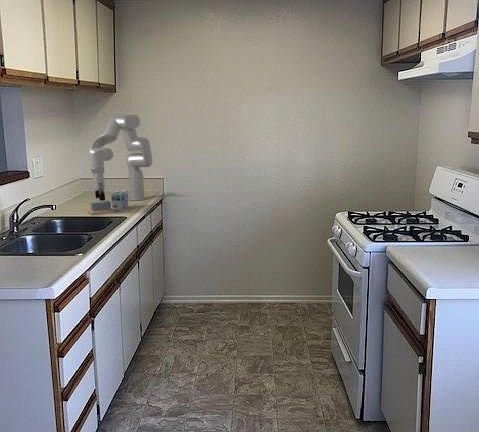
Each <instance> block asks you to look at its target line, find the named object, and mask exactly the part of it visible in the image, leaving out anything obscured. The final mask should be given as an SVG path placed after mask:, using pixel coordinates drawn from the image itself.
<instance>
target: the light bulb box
mask: <svg viewBox="0 0 479 432" xmlns="http://www.w3.org/2000/svg"><path fill="white" fill-rule="evenodd" d="M110 198H111V209H113V210H115V211H116V210H117V211H123V210H126V209H127V208H129V200H128V198H129V193H128V190H118V189H117V190H115V191H112V192H110Z"/></svg>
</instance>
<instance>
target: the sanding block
mask: <svg viewBox="0 0 479 432" xmlns="http://www.w3.org/2000/svg"><path fill="white" fill-rule="evenodd" d="M89 205H90V206H89V207H90V208H91V211H92V212H97V211H107V210H111V209H112V201H110V200H103V201H100V200H98V201H90V202H89Z"/></svg>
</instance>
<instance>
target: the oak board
mask: <svg viewBox="0 0 479 432" xmlns="http://www.w3.org/2000/svg"><path fill="white" fill-rule="evenodd" d="M82 210H83V211H84V212H86V213H87V214H88V215H90V216H95V215H96V216H97V215H98V216H99V215H105V214H106V215H107V214H115V212H116V210H113V209H112V208H111V210H107V211H97V212H92V211H91V208H90V206H84V207H83V206H82Z"/></svg>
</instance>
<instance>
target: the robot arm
mask: <svg viewBox="0 0 479 432" xmlns="http://www.w3.org/2000/svg"><path fill="white" fill-rule="evenodd" d="M140 124H141V119H140V116H139V115H137V114H119V115H112V116H111V117H109V119H108V121H107V124H106V126H105V129H104V131H103V133H102V134H101V135H98V137H96V138H95V139H94V141H93V142H92V143H91V146H90V147H89V151H88V158H89V160H90V171H91V175H92V187H93V190H94V193H95V196H94V197H95V199H99V201H106V193H105V188H106V187H105V186H106V185H105V178H104V174H105V172H106V171H105V162H109V161H111V160H112V159H113V157H114V152H113V150H112V149H111V148H109V147H107V148H106V147H104V146H107V145H110V144H112V143H114V142H115V141H117V139H118V137H119V134H120V131H121V132H122V134H123V138H124V143H125V147H126V150H127V152H131V153H128V154H127V155H126V159H125V161H126V164H127V168H128V182H129V183H128V184H129V194H130V195H129V196H128V201H134V202H135V201H145V200H147V199H148V198H147V196H145V186H144V185H145V183H144V173H143V170H142V169H141V168H149V167H151V166H152V165H153V155H152V150H151V148H152V147H151V143H150V140H149V139H148V137H147V138H146V137H139V136H138V134H137V128H139V127H140Z"/></svg>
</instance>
